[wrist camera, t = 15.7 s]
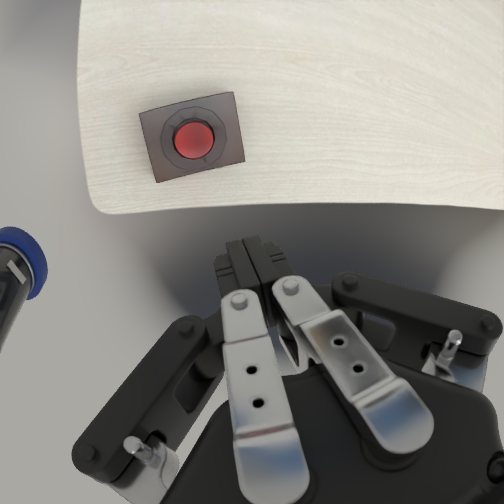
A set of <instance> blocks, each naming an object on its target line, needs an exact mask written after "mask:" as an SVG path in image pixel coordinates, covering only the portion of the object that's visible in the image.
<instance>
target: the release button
mask: <svg viewBox="0 0 504 504" xmlns="http://www.w3.org/2000/svg"><path fill="white" fill-rule="evenodd" d="M212 144H213V136H212V133H211V131H210V129H209V128H208V127H207V126H206V125H205V124H203V123H201V122H198V121H191V122H187V123H185V124H184V125H182V126H181V127H180V128H179V130H178V131H177V134H176V138H175V145H176V148H177V150H178V152H179V153H180V154H181V155H183V156H184V157H186V158H190V159H196V158H200V157H203V156H204V155H206V154H207V153H208V152H209V150H210V149H211V147H212Z"/></svg>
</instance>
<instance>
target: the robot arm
mask: <svg viewBox="0 0 504 504" xmlns="http://www.w3.org/2000/svg"><path fill="white" fill-rule="evenodd" d="M226 248H227V252H228V254H224V255H220V256H217V257H216V260H215V262H214V267H215V271H216V276H217V280H218V285H219V289H220V293H221V297H222V301H221V306H220V308H219V309H218V311H217V312H216V313H215V314H213V315H212V316H210V317H208V318H206V319H204V320H203V319H201V318H200V317H198V316H193V315H192V316H191V315H190V316H184V317H181V318H179V319H177V320H176V321H174V322H173V323H172V324H171V325H170V327H169V328H168V329H167V330H166V331H165V333H164V334H163V335H162V336H161V337H160V338H159V340H158V341H157V342H156V343H155V345H154V346H153V347H152V348H151V349H150V351H149V352H148V353H147V354H146V356H145V357H144V358H143V359H142V360H141V362H140V363H139V364H138V365H137V367H136V368H135V369H134V370H133V371H132V373H131V374H130V375H129V376H128V377H127V379H126V380H125V381H124V382H123V384H122V385H121V386H120V387H119V389H118V390H117V391H116V392H115V394H114V395H113V396H112V397H111V398H110V400H109V401H108V402H107V403H106V405H105V406H104V407H103V408H102V410H101V411H100V412H99V413H98V415H97V416H96V417H95V418H94V420H93V421H92V422H91V423H90V425H89V426H88V427H87V428H86V430H85V431H84V432H83V433H82V435H81V436H80V437H79V438H78V440H77V441H76V442H75V444H74V446H73V449H72V461H73V463H74V465H75V467H76V468H77V469H78V470H79V471H80V472H82V473H84V474H86V475H88V476H90V477H92V478H93V479H95V480H96V481H97V482H100V483H102V484H104V485H106V486H108V487H110V488H112V489H113V490H115V491H116V492H117V493H119V494H120V495H121V496H122V497H124V498H125V499H126V500H128V501H129V502H130V503H132V504H504V449H503V446H502V443H501V439H500V435H499V430H498V421H497V415H496V411H495V409H494V406H493V405H492V403H491V402H490V400H489V399H488V398H487V397H486V396H485V395H483V394H482V392H483V387H484V381H485V375H486V369H487V362H488V356H489V354H490V352H491V351H492V349H493V347H494V346H495V344H496V342H497V340H498V339H499V337H500V335H501V333H502V330H503V326H502V323H501V321H500V319H499V318H498V317H497V316H496V315H495V314H494V313H492V312H490V311H487V310H484V309H481V308H477V307H474V306H470V305H467V304H464V303H460V302H457V301H454V300H450V299H447V298H443V297H440V296H437V295H433V294H430V293H426V292H422V291H419V290H416V289H413V288H409V287H405V286H402V285H398V284H395V283H392V282H388V281H385V280H381V279H378V278H374V277H370V276H367V275H364V274H360V273H356V272H343V273H339V274H338V275H336V276H335V277H334V278H333V279H332V284H330V285H311V284H309V282H308V281H307V280H306V279H305V278H302V277H300V276H298V275H297V274H296V272H295V271H294V269H293V268H292V266H291V264H290V263H289V261H288V260H287V259H286V256H285V255H284V254H283V252H282V250H281V249H280V247H279V246H277V245H275V244H274V243H272V242H270V243H266V244H262V242H261V240H260V238H259V236H258V235H254V236H250V237H246V238H243V239H242V240H241V239H239V240H235V241H231V242H227V243H226ZM35 281H36V275H35V270H34V267H33V264H32V262H31V260H30V259H29V257H28V256H27V255H26V253H25V252H24V251H23V250H22V249H21V248H19V247H18V246H16V245H15V244H13V243H10V242H0V352H1V350H2V347H3V345H4V343H5V340H6V338H7V336H8V334H9V332H10V330H11V327H12V326H13V324H14V322H15V320H16V318H17V316H18V314H19V312H20V310H21V308H22V306H23V304H24V302H25V301H26V299H27V297H28V295H29V294H30V293H31V291H32V289H33V287H34V285H35ZM365 313H367V314H370V315H373V316H376V317H380V318H382V319H386V320H389V321H390V322H392V323H393V324H394V325H395V327H391V326H388V325H385V324H382V323H379V322H376V321H373V320H370V319H367V318H364V314H365ZM267 321H268V323H267ZM268 324H269V326H270V327H273V326H276V327H277V329H278V331H279V338H280V342H281V343H282V345H283V347H284V349H285V351H286V353H287V355H288V356H289V358H290V360H291V362H292V364H293V365H294V367H295V369H296V371H297V373H298V374H297V375H288V376H281V375H280V370H279V367H278V363H277V360H276V356H275V352H274V349H273V345H272V342H271V338H270V335H269V333H268V331H267V328H268ZM224 371H225V374H226V382H227V390H228V398H229V399H228V400H227V401H225V402H224V403H223V404H222V405H221V406H220V407H219V408H218V409H217V410H216V411H215V412H214V413H213V415H212V416H211V418H210V419H209V421H208V423H207V425H206V426H205V428H204V430H203V432H202V433H201V435H200V437H199V438H198V440H197V442H196V444H195V445H194V447H193V449H192V451H191V452H190V454H189V455H188V457H187V459H186V461H185V462H184V464H183V466H182V467H181V469H180V470H179V472H178V474H177V476H176V473H177V471H178V469H179V459H178V456H177V455H176V453H175V451H176V450H177V448H178V447H179V445H180V444H181V442H182V441H183V439H184V438H185V436H186V435H187V433H188V432H189V430H190V428H191V427H192V425H193V424H194V422H195V421H196V419H197V418H198V416H199V415H200V413H201V411H202V410H203V408H204V407H205V405H206V404H207V402H208V400H209V399H210V397H211V396H212V394H213V393H214V391H215V389H216V388H217V386H218V385H219V383H220V381H221V380H222V378H223V375H224ZM175 476H176V477H175Z"/></svg>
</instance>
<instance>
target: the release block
mask: <svg viewBox="0 0 504 504" xmlns="http://www.w3.org/2000/svg"><path fill="white" fill-rule="evenodd" d="M139 117H140V121H141V125H142V129H143V134H144V138H145V142H146V146H147V150H148V154H149V157H150V161H151V165H152V169H153V172H154V176H155V180H156V183H160V182H163V181H167V180H170V179H174V178H178V177H182V176H186V175H190V174H194V173H198V172H202V171H206V170H210V169H214V168H219V167H223V166H228V165H232V164H237V163H241V162H245V156H244V150H243V144H242V138H241V132H240V127H239V121H238V115H237V109H236V104H235V98H234V92H227V93H222V94H216V95H211V96H206V97H202V98H197V99H192V100H188V101H184V102H180V103H176V104H172V105H168V106H164V107H160V108H157V109H153V110H150V111H146V112H143V113H140V114H139ZM191 121H198V122H201V123H203V124H205V125H206V126H207V127H208V128H209V129H210V131H211V133H212V136H213V144H212V147H211V149H210V150H209V152H208V153H207V154H206V155H204V156H203V157H200V158H196V159H190V158H186V157H184V156H183V155H181V154H180V153H179V152H178V150H177V148H176V145H175V138H176V134H177V131H178V130H179V128H180V127H181V126H182V125H184V124H185V123H187V122H191Z"/></svg>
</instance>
